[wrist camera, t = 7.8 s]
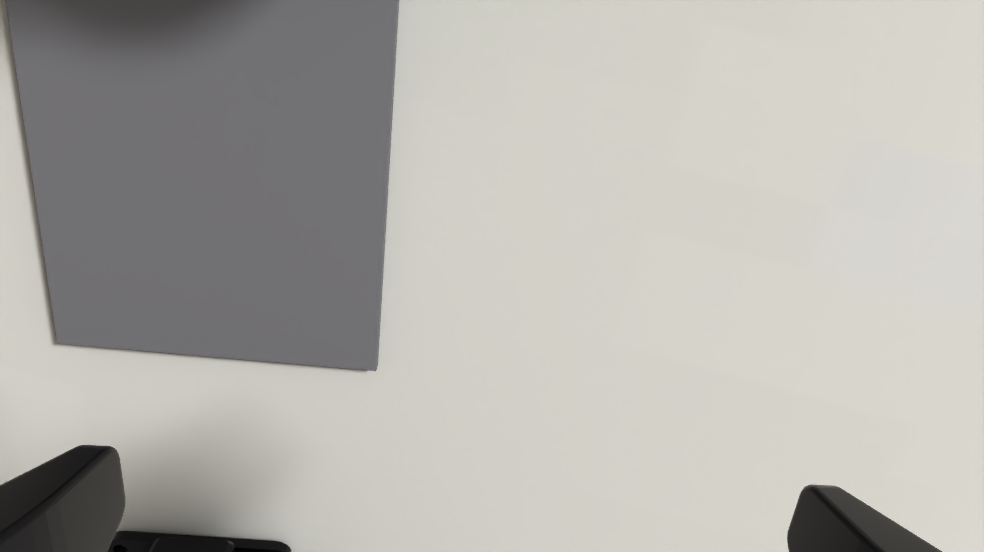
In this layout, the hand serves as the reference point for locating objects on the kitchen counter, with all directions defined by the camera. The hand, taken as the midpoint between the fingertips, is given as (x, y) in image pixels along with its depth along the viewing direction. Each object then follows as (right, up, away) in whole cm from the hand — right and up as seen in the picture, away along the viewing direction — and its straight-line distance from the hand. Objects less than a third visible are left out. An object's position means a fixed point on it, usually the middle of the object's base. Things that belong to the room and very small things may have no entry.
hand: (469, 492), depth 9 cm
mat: (-8, +6, +11) cm, 14 cm away
